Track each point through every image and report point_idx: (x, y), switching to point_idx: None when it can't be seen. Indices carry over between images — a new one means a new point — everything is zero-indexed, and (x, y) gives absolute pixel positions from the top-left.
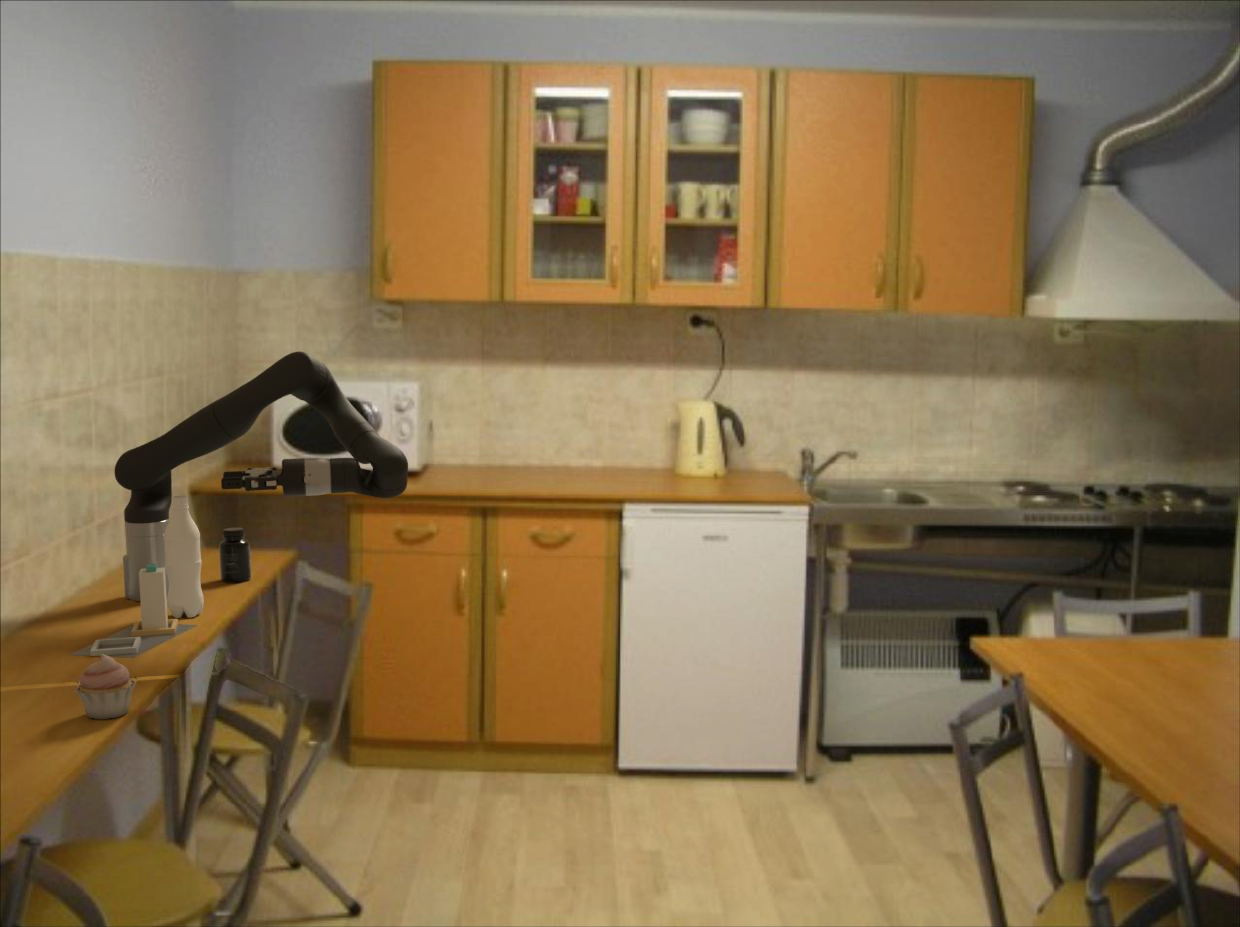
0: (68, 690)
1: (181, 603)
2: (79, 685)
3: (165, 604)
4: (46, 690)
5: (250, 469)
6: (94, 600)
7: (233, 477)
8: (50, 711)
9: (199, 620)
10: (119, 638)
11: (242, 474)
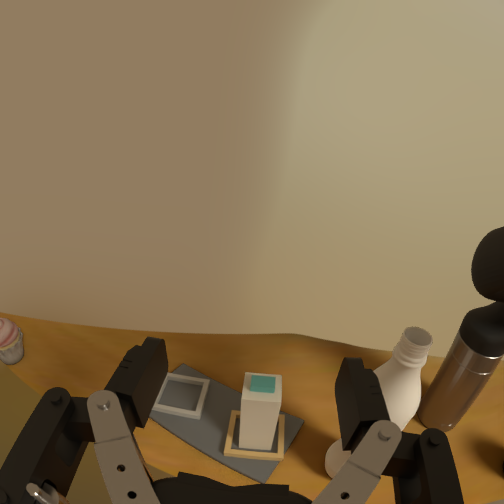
0: (81, 352)
1: (327, 455)
2: (19, 329)
3: (249, 430)
4: (93, 342)
5: (420, 449)
6: (420, 371)
7: (138, 368)
8: (46, 336)
9: (311, 485)
10: (203, 397)
11: (358, 430)
